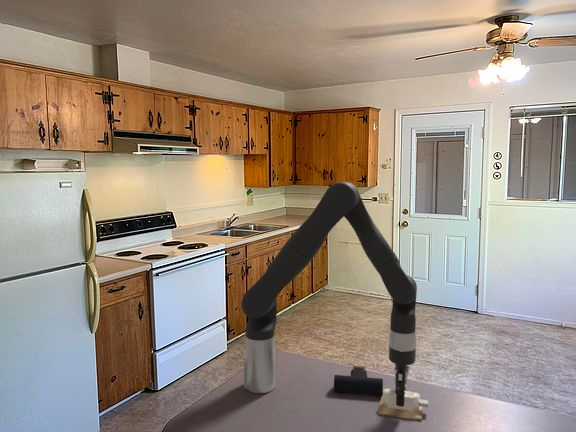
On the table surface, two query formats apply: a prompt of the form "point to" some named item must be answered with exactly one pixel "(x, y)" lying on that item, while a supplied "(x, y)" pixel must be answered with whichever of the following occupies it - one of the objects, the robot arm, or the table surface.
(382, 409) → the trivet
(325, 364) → the table surface
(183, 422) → the table surface
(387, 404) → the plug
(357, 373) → the pipe connector
